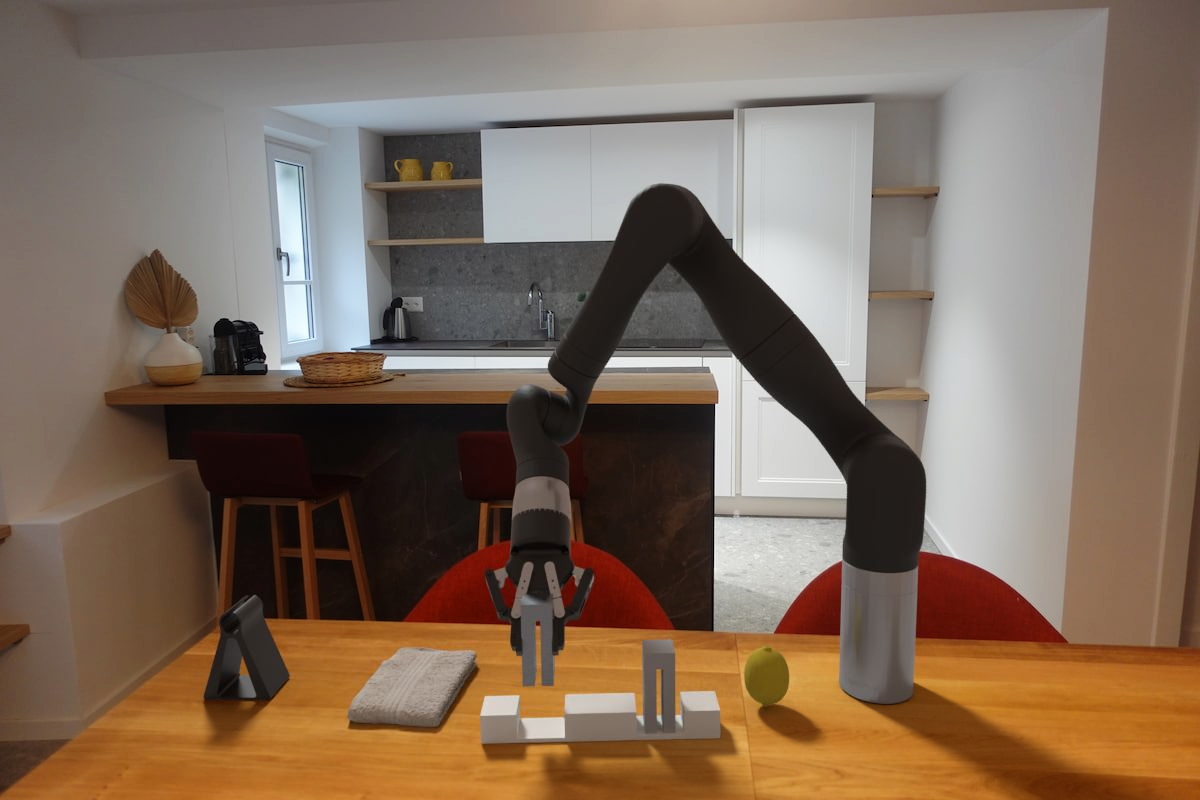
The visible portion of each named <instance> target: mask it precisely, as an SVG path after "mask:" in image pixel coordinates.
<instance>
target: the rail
mask: <svg viewBox="0 0 1200 800" xmlns="http://www.w3.org/2000/svg"><path fill="white" fill-rule="evenodd" d="M641 643H642V644H641V649H642V650H641V651H642V652H641V653H642V654H641V655H642V660H641V661H642V665H641V666H642V667H641V668H642V715H637V705H636V695H635V692H613V693H612V692H611V693H571V694H570V693H567V694H566V693H565V697H564V713H563V715H564V717H560V716H559V717H558V716H557V717H523V718H522V717H521V700H520V697H521V696H520V694H519V695H518V694H517V695H516V694H515V695H514V694H513V695H484V699H483V703H482V706H481V711H480V715H479V721H480V722H479V723H480V744H483V745H485V744H488V745H489V744H521V743H523V744H524V743H525V744H526V743H527V744H528V743H562V742H563V743H565V742H566V743H567V742H568V743H569V742H570V743H572V742H607V741H608V742H610V741H611V742H614V741H617V742H618V741H653V740H654V741H658V740H660V741H662V740H693V739H694V740H698V739H700V740H703V739H721V708H720V705H719V701H718V698H717V695H716V691H715V690H707V691H706V690H703V691H700V690H699V691H697V690H695V691H694V690H693V691H679V701H680V702H679V706H680V707H679V710H680V711H679V712H680V713H679V714H676V650H675V647H674V642H673V639H669V638H668V639H641ZM657 670H660V714H657V711H658V710H657V709H658V707H657V705H658V704H657V700H658V699H657V698H658V697H657V692H658V691H657V686H658V685H657Z"/></svg>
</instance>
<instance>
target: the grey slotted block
mask: <svg viewBox="0 0 1200 800" xmlns="http://www.w3.org/2000/svg"><path fill="white" fill-rule="evenodd" d="M553 619H554V609H553V594H550V592H540V593H526V594H523V596H522V600H521V638H522V656H521V668H522V669H521V670H522V672H521V675H522V676H521V677H522V687H535V686H536V681H537V680H536V679H537V673H538V669H537V663H538V662H537V631H536V629H537V628H536V627H537V625H536V622H539V623H540V624H539V628H540V629H539V631H540V632H539V633H540V635H539V636H540V638H539V639H540V672H541V673H540V677H541V680H540V681H541V687H554V685H555V674H556V665H555V664H556V659H555V658H556V656H553V655H552V638H553Z"/></svg>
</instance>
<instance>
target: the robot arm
mask: <svg viewBox="0 0 1200 800" xmlns="http://www.w3.org/2000/svg"><path fill="white" fill-rule="evenodd" d="M667 265H669V266H670V267H671V268H672V269H674V271H675V272H677V273H678V274H679V276H680V277H681V278H682V279H683V280H684V281H685V282H686V283H687V284H688V285H689V286H690V288H691V289H692V290H693V291H694V292H695V294H696V295H697V296H698V297H699V299H700V301H701V302H702V304H703V305H704V308H705V309H706V311H707V312H708V315H709V317H710V319H711V321H712V322H713V324H714V326H715V328H716V330H717V331H718V334H719V335H720V336H721V338H722V340H723V342H724V343H725V345H726V346H727V348H728V349H729V351H730V352H731V354H732V355H733V356H734V358H735V359H736V360H738V362H739V363H740V364H741V366H742V367H743V368H744V369H745V370H746V371H747V373H748V374H749V375H750V376H751V377H752V378H753V380H755V382H756V383H757V384H758V385H759V386H760V387H761V388H762V389H763V390H764V391H765V392H766V393H767V394H768V395H769V396H771V398H772V399H774V400H775V401H776V402H777V403H778V404H780V405H781V406H782V407H783V408H784V409H785V410H786V411H787V412H789V413H790V414H791V415H793V416H794V417H795V418H796V419H797V420H799V421H800V422H801V423H802V424H803V425H805V426H806V427H807V429H809V431H810V432H811V433H812V434H813V436H814V437H815V438H816V439H817V441H818V442H819V443H820V445H821V446H822V447H823V448H824V450H825V451H826V453H827V454H828V455H829V457H830V458H831V460H832V461H833V463H834V464H835V465H836V467H837V469H838V470H839V472H840V474H841V475H842V477H843V479H844V481H845V484H846V509H845V531H844V535H843V537H842V554H841V555H842V556H841V557H842V558H841V563H842V564H841V593H840V594H841V596H840V597H841V599H840V601H841V602H840V631H839V632H840V633H839V634H840V635H839V663H838V664H839V668H838V670H839V671H838V682H839V683H838V684H839V686H840V688H841V689H842V690H843V691H844V692H845V693H847V694H848V695H850V696H852V697H853V698H856V699H858V700H860V701H865V702H868V703H873V704H882V705H883V704H884V705H885V704H886V705H889V704H890V705H893V704H898V703H902V702H905V701H907V700H908V699H910V698H912V695H913V693H914V682H915V681H914V680H915V679H914V678H915V661H916V657H915V654H916V653H915V652H916V634H917V632H916V631H917V607H918V605H917V604H918V584H919V583H918V581H919V579H918V577H919V562H920V561H919V559H920V558H919V557H920V551H921V549H922V546H923V542H924V533H925V518H926V517H925V516H926V506H927V505H926V503H927V501H926V500H927V475H926V470H925V466H924V463H922V461H921V459H920V457H919V456H918V455H917V454H916V452H915V451H914V450H913V449H912V448H911V447H910V446H909V445H908V443H906V442H905V441H904V440H903V439H902V438H900V437H899V436H898V435H897V434H895V433H894V432H893V431H892V430H891V429H890V428H889V427H888V426H887V425H886V424H884V423H883V422H882V421H881V420H880V419H879V418H878V417H877V416H876V415H875V414H874V413H873V412H872V411H871V410H870V409H869V408H868V407H867V406H865V405H864V403H863V402H862V401H861V400H860V399H859V398H858V397H857V395H856V394H855V393H854V392H853V390H852V389H851V388H850V386H848V384H847V382H846V381H845V378H844V377H843V375H842V374H841V372H840V371H839V369H838V367H837V366H836V364H835V363H834V361H833V360H832V358H831V357H830V355H829V354H828V353H827V351H826V350H825V348H824V347H823V346H822V344H821V343H820V342H819V340H818V339H817V337H815V335H814V334H813V333H812V332H811V330H810V329H809V328H808V327H807V326H806V325H805V323H804V322H803V321H802V320H801V319H800V318H799V316H798V315H797V314H796V313H795V312H794V311H793V309H792V308H791V307H790V306H789V305H788V304H787V303H786V302H785V301H784V300H783V299H782V298H781V297H780V296H779V295H778V294H777V293H776V292H775V290H773V288H772V287H771V286H770V285H768V284H767V283H766V281H765V280H764V279H763V278H762V277H761V276H759V275H758V274H757V273H756V272H755V271H754V270H753V269H752V268H751V267H750V266H749V265H748V264H747V263H746V262H744V260H743V259H742V258H741V257H740V256H739V254H738V253H737V252H736V251H735V250H734V248H733V247H732V245H731V243H729V242H728V240H727V238H725V236H724V235H723V233H722V232H721V230H720V229H719V228H718V226H717V225H716V223H715V221H714V220H713V219H712V218H711V216H710V214H709V213H708V211H707V210H706V208H705V206H704V205H703V203H702V202H701V200H700V199H699V198H698V196H697V195H696V194H694V193H693V192H692V190H689V189H688V188H686V187H684V186H682V185H680V184H676V183H663V182H661V183H655V184H654V183H653V184H651V185H647V186H646V187H643V189H641V190H639V191H638V192H637V193H636V194H635V195H634V196H633V197H632V199H631V200H630V201H629V204H628V207H627V209H626V211H625V214H624V216H623V218H622V222H621V224H620V226H619V229H618V232H617V234H616V236H615V239H614V242H613V244H612V247H611V249H610V251H609V254H608V256H607V258H606V260H605V262H604V264H603V267H602V268H601V270H600V273H599V274H598V277H597V278H596V281H595V282H594V284H593V286H592V288H591V290H590V292H589V293H588V294H587V297H586V298H585V299H584V302H583V303H582V305H581V307H580V308H579V310H578V311H577V313H576V314H575V316H574V318H573V319H572V321H571V323H570V324H569V326H568V328H567V329H566V331H565V332H564V334H563V336H562V337H561V338H560V340H559V343H558V344H557V346H556V347H555V349H554V351H553V353H552V354H551V356H550V358H549V359H548V362H547V371H548V373H549V375H550V376H551V377H552V378H553V380H555V381H556V382H557V383H558V384H560V385H561V386H563V388H565V389H566V391H565V392H564V394H563V395H562V394H560V393H559V394H558V393H556V392H553V391H552V390H548V389H546V388H543V387H541V386H538V385H536V384H535V385H534V384H523V385H521V386H519V387H518V388H517V389H516V390H514V392H513V393H512V394H511V396H510V398H509V400H508V403H507V407H506V417H505V418H506V426H507V429H508V430H507V431H508V434H509V438H510V442H511V446H512V451H513V455H514V458H515V462H516V473H515V474H516V475H515V490H514V496H513V500H512V501H513V502H512V512H511V513H512V514H511V515H512V516H511V528H510V547H509V548H510V551H509V558H508V559H507V561H506V562H505V565H504V567H502V568H499V569H496V570H493V569H492V568H487V569H486V570H485V571H484V578H485V581H486V585H487V588H488V591H489V595H490V597H491V600H492V602H493V605H494V609H495V612H496V614H497V615H496V616H497V618H498V620H500V621H501V622H505V621H506V622H508V623H510V634H509V637H510V639H509V643H510V647H511V650H512V652H515V655H516V656H517V657H522V638H521V600H522V596H523V594H526V593H540V592H550V594H553V609H554V619H553V638H552V655H553V656H555V657H556V656H557V657H558V656H559V651H563V650H564V648H565V647H566V645H565V641H566V640H565V638H566V637H565V634H566V624H567V623H568V622H570V621H573V620H574V621H577V620H579V619H580V618H581V615H582V613H583V610H584V607H585V604H586V602H587V600H588V598H589V595H590V592H591V589H592V587H593V584H594V582H595V573H594V572H595V571H594V569H593V568H592V567H586V568H582V567H579V566H576V565H575V563H574V561H573V559H572V557H571V547H572V546H571V541H572V540H571V537H572V535H571V534H572V533H571V530H572V529H571V528H572V526H571V525H572V524H571V523H572V513H571V512H572V511H571V510H572V507H571V498H570V462H569V461H570V459H569V457H568V454H567V452H566V451H565V450H564V449H563V448H562V446H565V445H567V444H569V443H571V442H572V441H574V439H575V438H577V436H578V434H579V432H580V431H581V428H582V425H583V421H584V417H585V413H586V410H587V407H588V403H589V401H590V397H591V395H592V391H593V389H594V386H595V384H596V382H597V380H598V379H599V377H600V376H601V374H602V372H603V371H604V369H605V367H607V365H608V363H609V361H610V360H611V359H612V357H613V355H614V353H615V351H616V350H617V349H618V346H619V344H620V342H621V340H622V339H623V337H624V335H625V332H626V329H627V327H628V325H629V322H630V320H631V318H632V316H633V314H634V313H635V310H636V307H637V306H638V304H639V302H641V299H642V297H643V296H644V294H645V293H646V291H647V290H648V288H649V286H650V285H651V284H652V282H653V281H654V280H655V279H656V277H657V276H658V275H659V274H660V273H661V272H662V271H663V269H664V268H665V267H666V266H667ZM572 577H574V578H575V579H574V584H575V586H576V587H577V588H576V590H575V593H574V595H573V598H572V600H571V603H570V605H567V606H564V603H563V598H562V593H561V591H562V590H563V588H564V587H565V586H566V585H567V583H568V582H569V581H570V580H571V578H572ZM506 578H508V579H509V581H511V583H512V584H513V586H514V587H515V588H516V592H515V598H514V603H513V606H512V607H509V606H507V605H506V602H505V599H504V596H503V593H502V590H501V589H502V588H504V586H505V580H506Z"/></svg>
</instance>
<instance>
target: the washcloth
mask: <svg viewBox="0 0 1200 800" xmlns="http://www.w3.org/2000/svg"><path fill="white" fill-rule="evenodd" d="M477 657H478V654H477V652H476V651H474V650H472V649H471V650H470V649H465V650H464V649H461V650H439V649H435V648H428V647H409V646H405V647H401V648H398V650H397V651H396V652H395V653H394V654H393V655H392V656H390V658H389V659H384V660H383V661H382V662H381V664H380V666H379V667H378V668H377V669H376V671H375V672H374V673H373V674H372V676H370V677H369V678H368V680H367V681H366V682H365V685H364V686H363V687H362V689H361V690H360V691H359V692H358V693H357V694H356V695H355V697H354V698H353V699H352V701H351V703H350V706H349V708H348V711H347V713H348V714H347V719H348V721H352V722H353V723H356V724H362V723H363V724H372V725H375V724H376V723H377V724H387V725H388V724H391V725H398V726H408V727H420V728H421V727H423V728H424V727H425V728H435V727H438V726H440V723H442V720H443V719H444V717H445V718H446V715H447V712H448V711H449V708H450V707H452V704H453V703H454V702H455V700H456V698H457V697H458V696H459V692H460V691H461V688H462V687H463V685H465V682H466V680H467V679H468V677H470V675H471V673H472V672H473V670H475V668H476V667H477V664H478V662H477V660H476V658H477ZM455 697H456V698H455ZM377 724H376V725H377Z"/></svg>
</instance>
